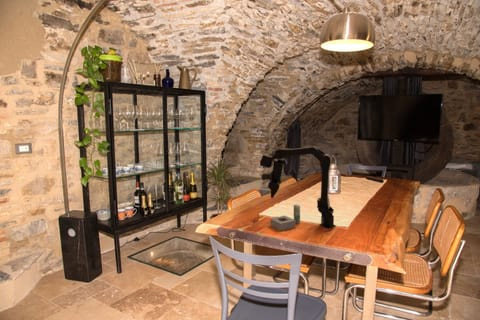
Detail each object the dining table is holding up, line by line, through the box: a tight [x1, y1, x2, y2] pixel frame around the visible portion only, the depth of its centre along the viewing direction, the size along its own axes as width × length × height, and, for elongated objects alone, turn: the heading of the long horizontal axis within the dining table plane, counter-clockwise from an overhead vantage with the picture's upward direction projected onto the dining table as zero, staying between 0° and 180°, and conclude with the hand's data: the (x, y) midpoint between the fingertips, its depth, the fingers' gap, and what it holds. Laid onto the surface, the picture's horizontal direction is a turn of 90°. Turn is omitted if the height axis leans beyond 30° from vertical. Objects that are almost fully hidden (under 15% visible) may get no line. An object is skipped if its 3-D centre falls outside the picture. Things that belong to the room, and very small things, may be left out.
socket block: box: [269, 215, 297, 232], centre depth 178 cm, size 10×10×4 cm
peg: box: [293, 204, 301, 224], centre depth 183 cm, size 4×4×10 cm
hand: (272, 195), depth 187 cm, fingers open, 9 cm apart
